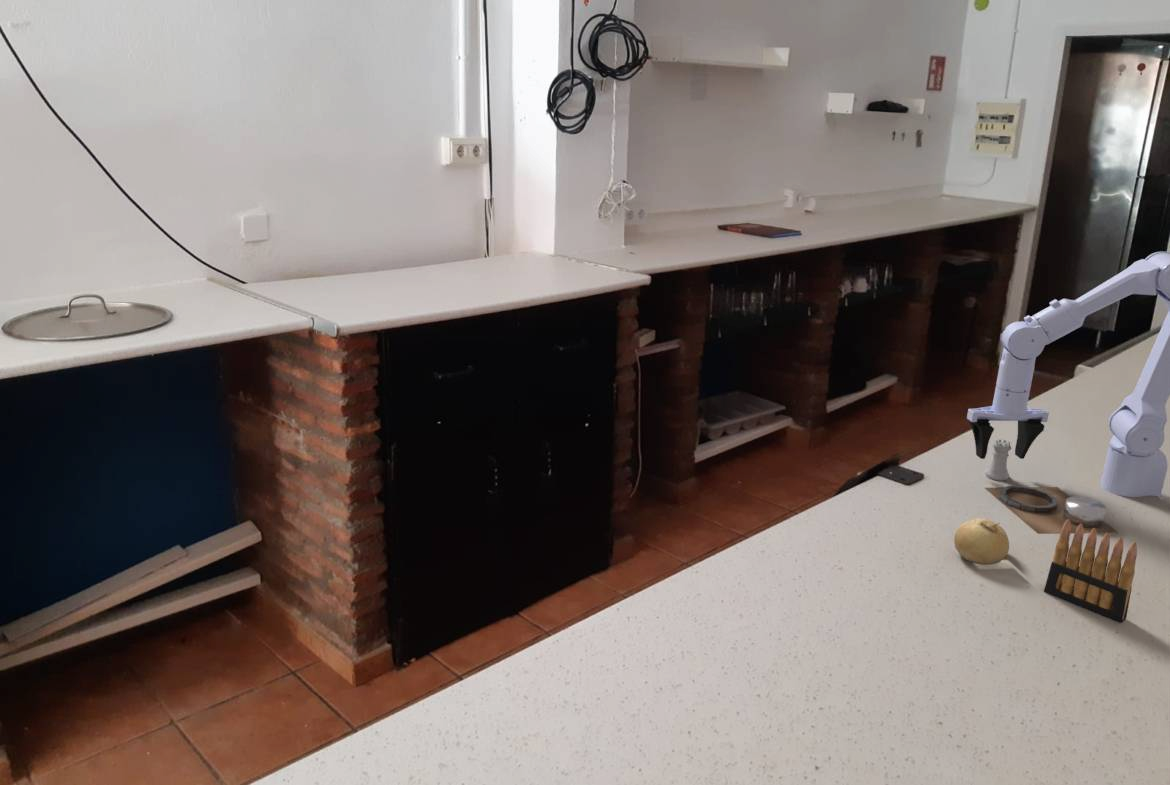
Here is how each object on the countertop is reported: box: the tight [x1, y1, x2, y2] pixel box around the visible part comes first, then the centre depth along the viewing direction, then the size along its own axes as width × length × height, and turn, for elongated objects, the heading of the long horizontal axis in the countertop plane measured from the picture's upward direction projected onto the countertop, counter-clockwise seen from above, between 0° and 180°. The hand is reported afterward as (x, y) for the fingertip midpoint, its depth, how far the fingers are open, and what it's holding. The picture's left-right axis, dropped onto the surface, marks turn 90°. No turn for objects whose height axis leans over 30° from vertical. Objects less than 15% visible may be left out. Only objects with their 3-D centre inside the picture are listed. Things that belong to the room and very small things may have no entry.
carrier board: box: [984, 486, 1119, 535], centre depth 160 cm, size 14×18×1 cm
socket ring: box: [1000, 485, 1057, 513], centre depth 162 cm, size 9×9×1 cm
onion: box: [953, 517, 1010, 566], centre depth 143 cm, size 8×8×7 cm
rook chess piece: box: [984, 439, 1012, 482], centre depth 172 cm, size 4×4×8 cm
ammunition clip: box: [1043, 519, 1138, 624], centre depth 130 cm, size 11×2×12 cm, turn 41°
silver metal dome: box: [1063, 496, 1107, 528], centre depth 155 cm, size 6×6×3 cm
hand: (999, 456), depth 172 cm, fingers open, 7 cm apart
